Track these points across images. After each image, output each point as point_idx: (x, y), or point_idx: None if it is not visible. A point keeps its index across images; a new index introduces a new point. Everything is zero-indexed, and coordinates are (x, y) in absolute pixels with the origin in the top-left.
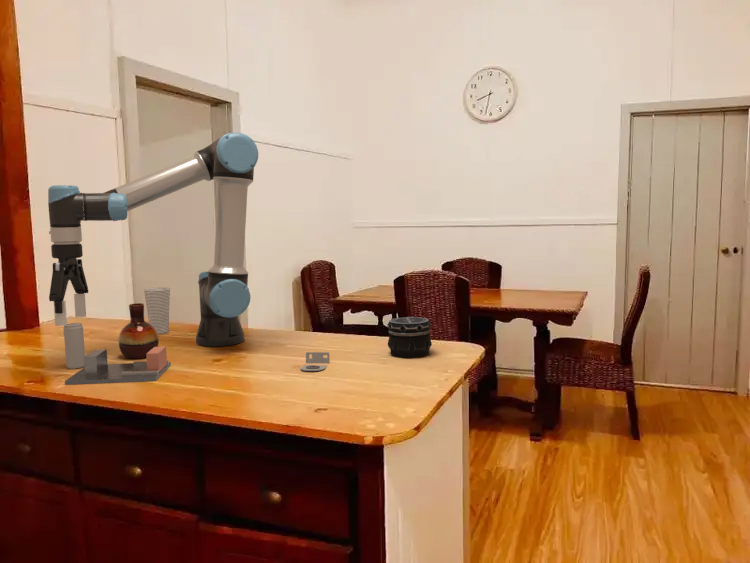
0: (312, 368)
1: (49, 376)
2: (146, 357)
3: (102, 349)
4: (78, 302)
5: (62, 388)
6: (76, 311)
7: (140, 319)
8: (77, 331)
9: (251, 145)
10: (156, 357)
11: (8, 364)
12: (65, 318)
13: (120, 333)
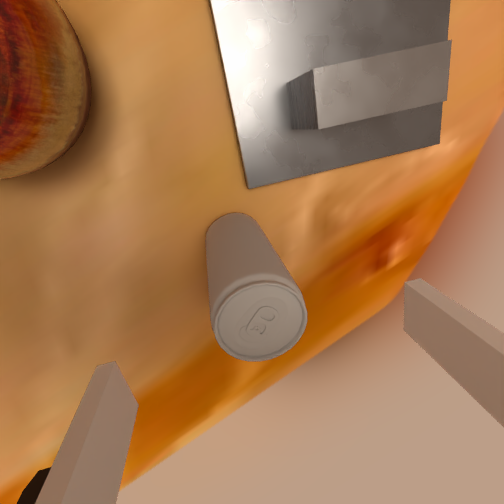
0: None
1: (335, 247)
2: None
3: (316, 90)
4: (99, 498)
5: (465, 126)
6: (126, 432)
7: None
8: (281, 269)
9: None
10: None
11: (219, 418)
12: (452, 300)
13: (20, 148)
